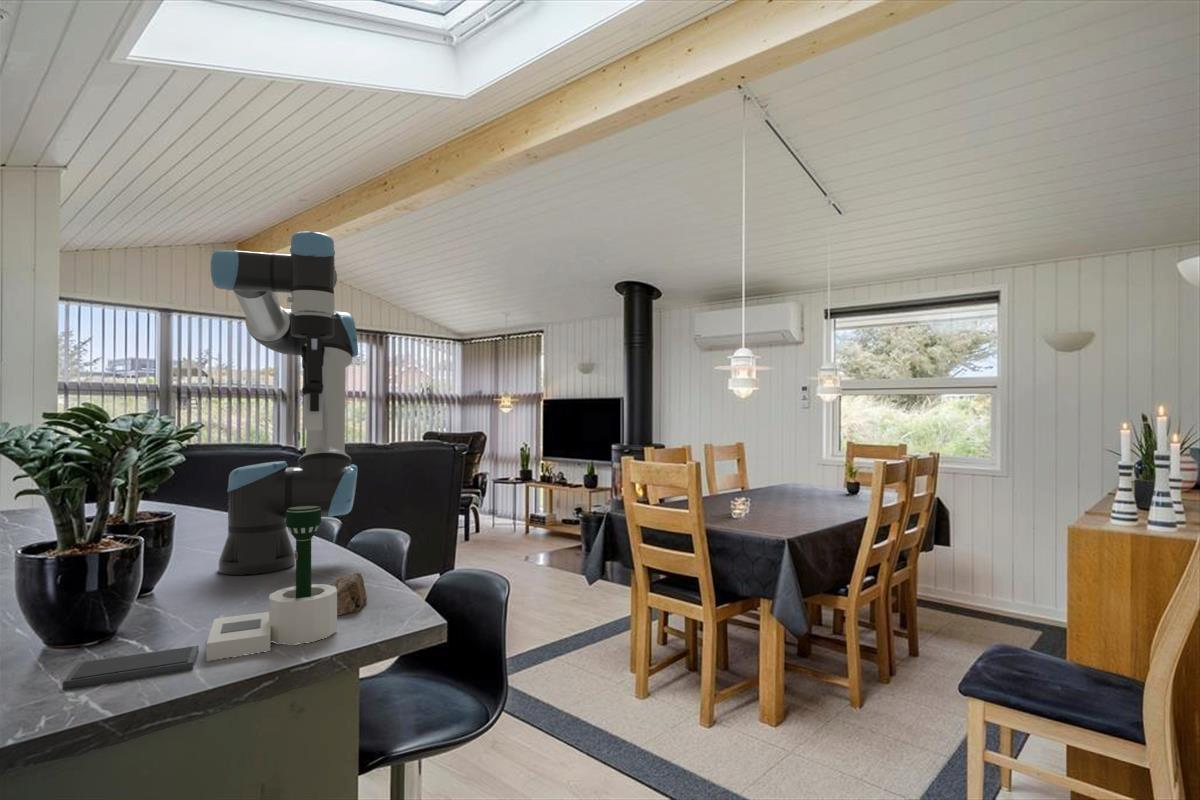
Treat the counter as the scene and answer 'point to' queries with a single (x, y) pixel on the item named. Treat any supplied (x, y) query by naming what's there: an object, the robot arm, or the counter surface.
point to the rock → (350, 593)
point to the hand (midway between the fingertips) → (312, 429)
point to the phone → (131, 667)
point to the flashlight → (303, 542)
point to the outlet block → (276, 623)
